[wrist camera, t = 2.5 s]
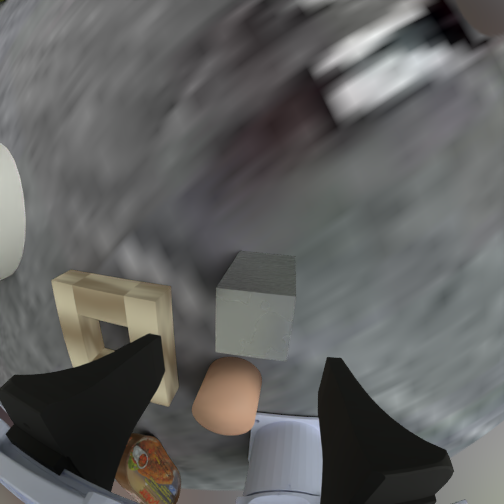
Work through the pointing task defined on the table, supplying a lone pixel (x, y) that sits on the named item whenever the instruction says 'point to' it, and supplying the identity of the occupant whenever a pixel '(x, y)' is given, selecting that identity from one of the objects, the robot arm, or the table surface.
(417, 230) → the table surface
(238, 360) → the round peg
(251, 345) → the square peg
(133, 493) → the tin
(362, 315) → the table surface
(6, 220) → the cylinder
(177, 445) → the table surface
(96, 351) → the bore block
